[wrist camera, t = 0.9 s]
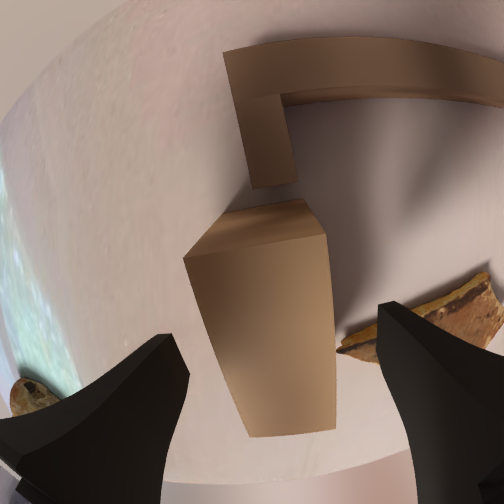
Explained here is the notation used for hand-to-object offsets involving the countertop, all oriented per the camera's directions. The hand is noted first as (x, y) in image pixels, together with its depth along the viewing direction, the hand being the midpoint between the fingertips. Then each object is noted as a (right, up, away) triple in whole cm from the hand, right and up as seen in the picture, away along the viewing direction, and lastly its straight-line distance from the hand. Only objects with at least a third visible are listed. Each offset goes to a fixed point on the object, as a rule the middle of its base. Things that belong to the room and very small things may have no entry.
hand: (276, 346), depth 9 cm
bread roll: (-24, -15, +12) cm, 31 cm away
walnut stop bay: (+8, +10, 0) cm, 12 cm away
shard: (+10, -2, +5) cm, 12 cm away
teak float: (0, +1, +4) cm, 4 cm away
